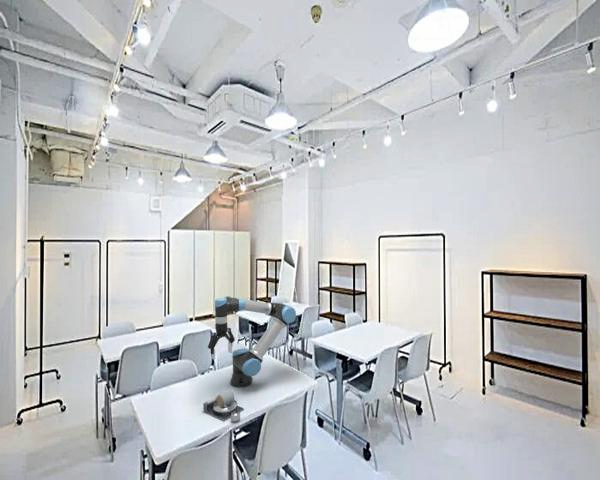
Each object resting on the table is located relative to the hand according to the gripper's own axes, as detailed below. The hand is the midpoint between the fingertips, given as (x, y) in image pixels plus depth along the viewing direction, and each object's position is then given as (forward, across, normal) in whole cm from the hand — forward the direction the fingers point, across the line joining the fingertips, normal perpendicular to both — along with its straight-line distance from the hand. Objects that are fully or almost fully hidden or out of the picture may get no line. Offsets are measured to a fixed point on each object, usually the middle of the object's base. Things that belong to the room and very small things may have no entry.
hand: (222, 355), depth 210 cm
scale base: (+27, +11, +14) cm, 32 cm away
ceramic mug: (+23, +11, +17) cm, 30 cm away
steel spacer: (+27, +14, +27) cm, 41 cm away
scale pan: (+25, +11, +15) cm, 31 cm away
